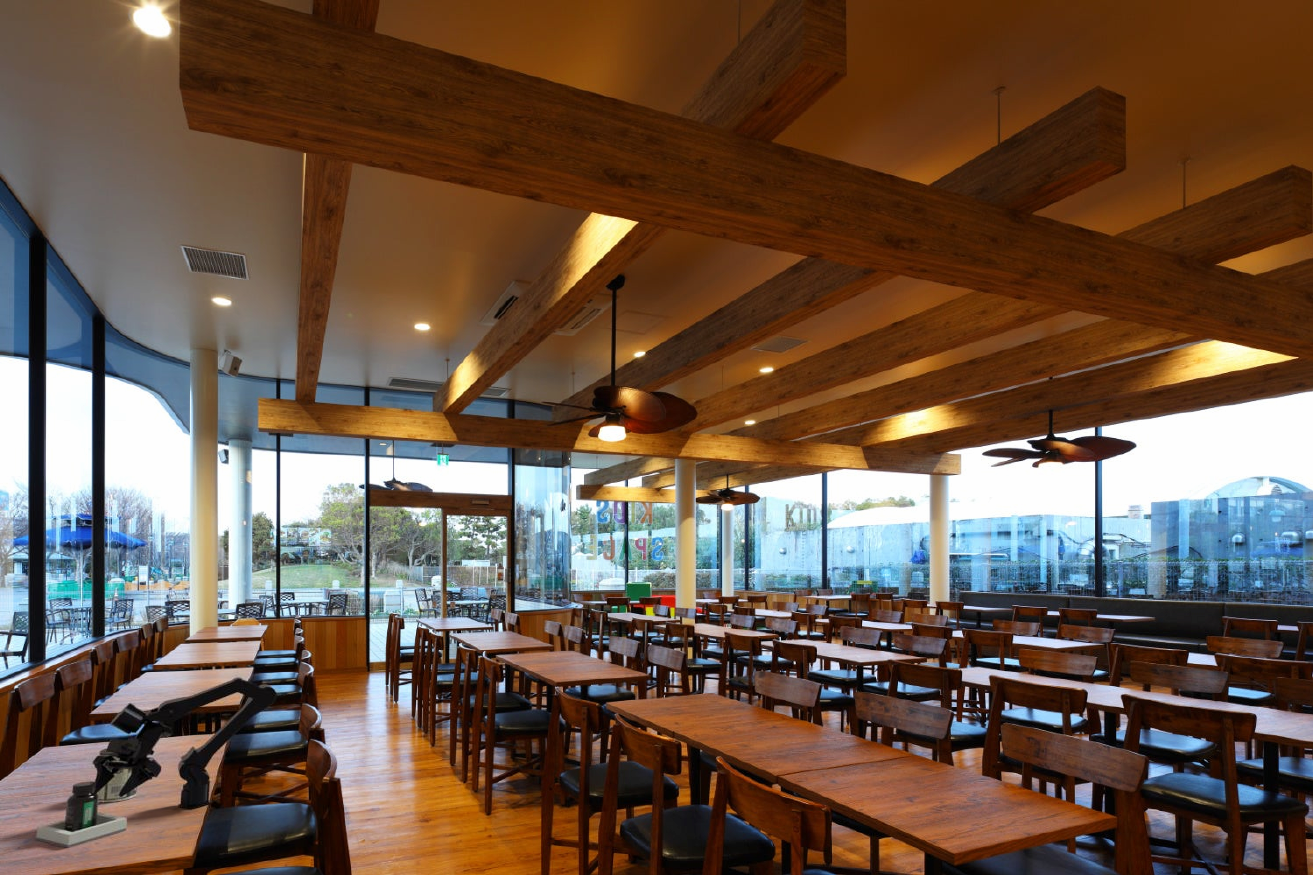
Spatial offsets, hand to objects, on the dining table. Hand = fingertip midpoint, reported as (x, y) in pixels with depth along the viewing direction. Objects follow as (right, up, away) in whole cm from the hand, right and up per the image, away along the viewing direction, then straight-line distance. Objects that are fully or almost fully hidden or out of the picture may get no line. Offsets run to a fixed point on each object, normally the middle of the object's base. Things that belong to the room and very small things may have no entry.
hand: (106, 795), depth 216 cm
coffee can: (-15, -13, +26) cm, 32 cm away
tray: (-2, -7, -7) cm, 10 cm away
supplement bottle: (-2, -7, -6) cm, 10 cm away
